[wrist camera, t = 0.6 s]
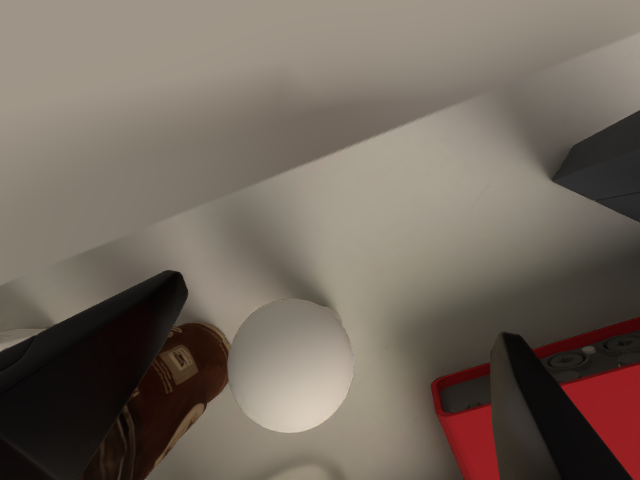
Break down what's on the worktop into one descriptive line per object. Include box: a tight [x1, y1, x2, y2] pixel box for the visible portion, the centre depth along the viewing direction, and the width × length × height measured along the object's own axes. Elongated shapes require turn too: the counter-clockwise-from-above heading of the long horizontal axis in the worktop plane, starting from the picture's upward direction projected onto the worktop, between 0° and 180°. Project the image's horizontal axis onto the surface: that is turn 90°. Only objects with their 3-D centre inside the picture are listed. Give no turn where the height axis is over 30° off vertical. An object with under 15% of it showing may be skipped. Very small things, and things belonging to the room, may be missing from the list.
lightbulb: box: [227, 299, 354, 433], centre depth 19 cm, size 6×6×11 cm
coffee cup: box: [79, 322, 230, 480], centre depth 20 cm, size 9×8×13 cm
